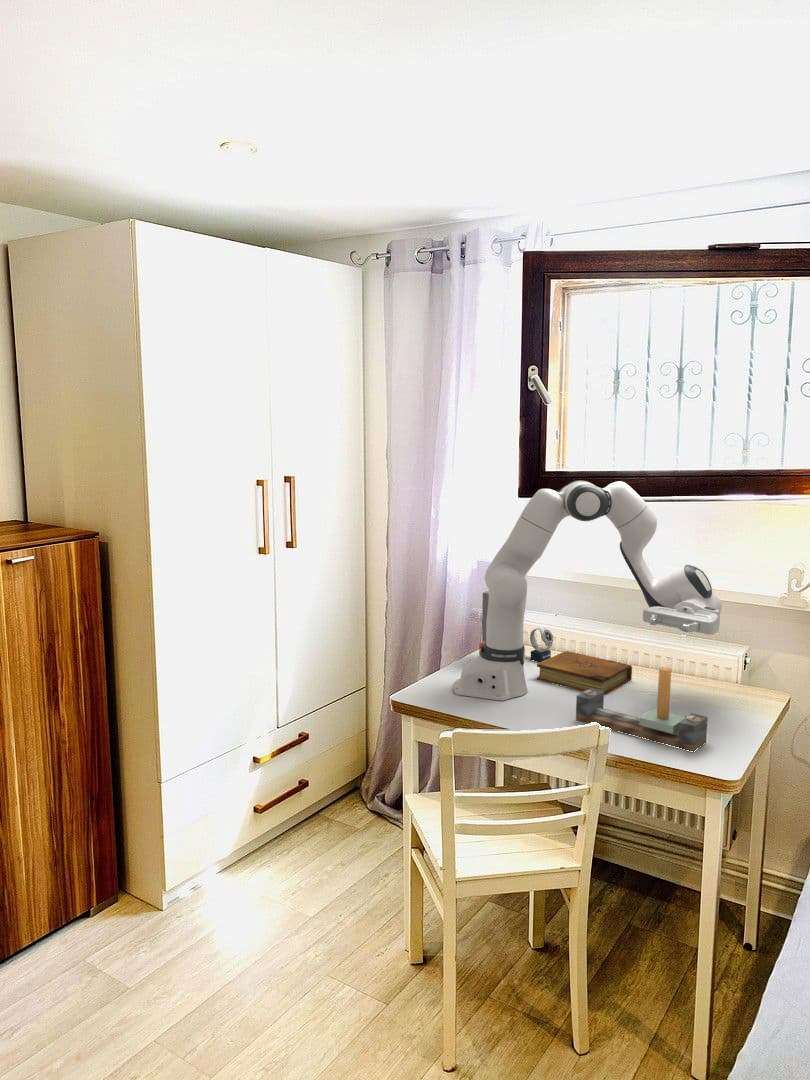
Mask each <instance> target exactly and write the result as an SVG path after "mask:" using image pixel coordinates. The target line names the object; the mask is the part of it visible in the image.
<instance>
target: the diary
mask: <svg viewBox="0 0 810 1080" xmlns="http://www.w3.org/2000/svg"><path fill="white" fill-rule="evenodd" d="M536 667H537V668H539V676H538V677H537V678H536V681H537V680H538V681H541V682H545V683H548V682H549V683H550V684H552V683H554V684H553V685H556V684H558V685H557V686H560V685H562V686H561V687H564V686H566V687H565V688H568V687H569V689H572V690H577V691H581V692H584V691H586V690H588V689H590V688H592V689H597V690H601V691H604V696H605V695H608V694H609V693H611V692H613V691H615V690H616V689H618V688H620V687H622V686H624V685H626V684H627V683H629V682H631V681H632V678H633V677H632V676H633V666H632V665H631V664H627V663H623V662H618V661H613V660H609V659H605V658H600V657H596V656H593V655H592V656H591V655H587V654H582V653H578V652H573V651H569V650H566V651H563V652H561V653H558V654H556V655H554V656H551V658H549V659H547V660H544V661H542V662H540V663H539V662H537V663H536ZM630 680H631V681H630ZM628 681H629V682H628ZM549 683H548V684H549ZM625 683H626V684H625ZM623 684H624V685H623Z"/></svg>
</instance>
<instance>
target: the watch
mask: <svg viewBox="0 0 810 1080" xmlns="http://www.w3.org/2000/svg"><path fill="white" fill-rule="evenodd" d="M536 631H539V633H540V637H541V640H542V642H543V643H544V644H545V646H546V648H542V647H540V646H539V644H538V642H537V639H536V635H535V633H536ZM529 641H530V644H531V646H532V648H533V649H534V650H531V651H530V661H531V660H534V661H533V662H535V661H537V662H536V663H539V662H542V661H544V660H547V659H549V658H551V657H552V656H551V653H552V651H551V648H552V646H553V645H554V644H553V643H554V635H553V633H552V631H550V630H548V629H547V628H545V627H542V626H541V627H540V626H539V627H536V628H534V629H532V630H531V632H530V634H529Z"/></svg>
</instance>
